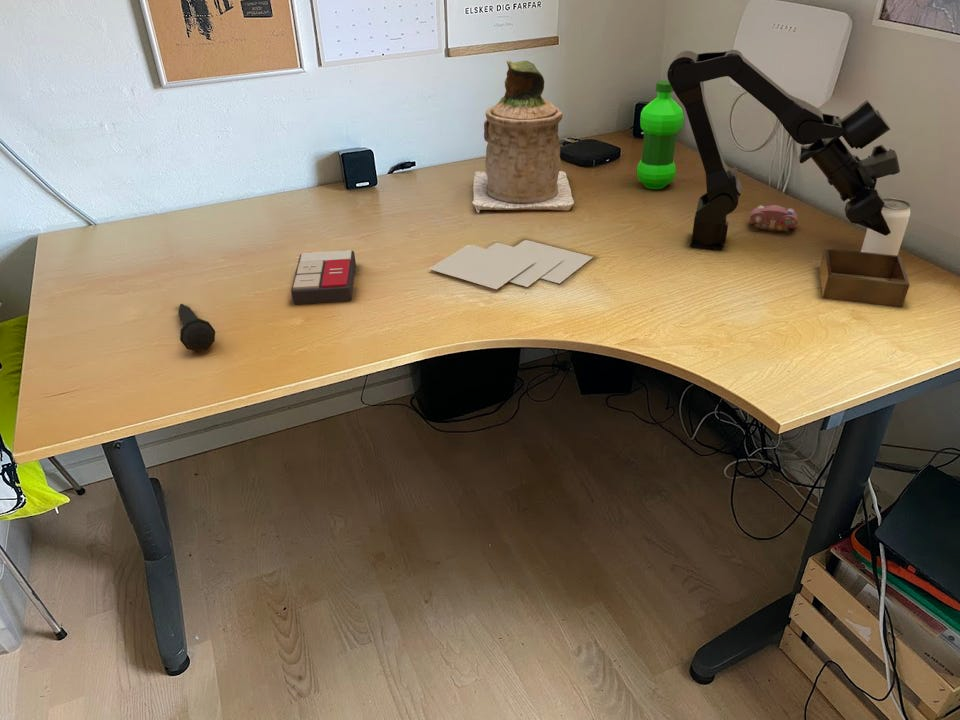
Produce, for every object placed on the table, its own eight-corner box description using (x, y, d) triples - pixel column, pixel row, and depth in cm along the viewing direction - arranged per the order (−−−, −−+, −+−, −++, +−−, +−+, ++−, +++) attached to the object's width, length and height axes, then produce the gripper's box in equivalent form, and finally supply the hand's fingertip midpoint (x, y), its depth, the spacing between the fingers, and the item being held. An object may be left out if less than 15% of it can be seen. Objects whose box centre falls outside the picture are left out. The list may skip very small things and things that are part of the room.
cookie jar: (575, 211, 170) (582, 68, 152) (471, 214, 170) (466, 72, 153) (566, 176, 190) (571, 46, 173) (473, 178, 191) (469, 49, 173)
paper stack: (493, 231, 161) (493, 228, 161) (593, 257, 149) (593, 254, 148) (428, 271, 146) (428, 268, 145) (533, 303, 133) (533, 300, 133)
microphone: (177, 324, 137) (196, 362, 121) (159, 300, 134) (175, 336, 118) (203, 309, 138) (224, 344, 123) (185, 285, 135) (205, 318, 119)
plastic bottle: (625, 186, 183) (634, 83, 169) (650, 175, 189) (660, 75, 175) (658, 195, 177) (670, 90, 163) (683, 184, 182) (696, 81, 169)
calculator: (289, 287, 134) (299, 250, 146) (293, 307, 136) (303, 268, 149) (348, 284, 134) (353, 246, 146) (351, 303, 137) (356, 265, 149)
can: (902, 265, 142) (921, 207, 135) (873, 269, 141) (891, 211, 134) (880, 251, 147) (896, 195, 141) (852, 255, 146) (867, 199, 139)
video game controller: (746, 233, 160) (750, 212, 154) (749, 218, 162) (753, 196, 156) (793, 239, 157) (799, 217, 151) (796, 223, 159) (802, 201, 153)
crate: (822, 297, 132) (828, 275, 130) (819, 268, 142) (824, 248, 139) (902, 307, 128) (909, 284, 126) (893, 277, 138) (900, 255, 135)
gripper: (885, 151, 125) (936, 218, 128) (873, 122, 139) (919, 182, 142) (825, 191, 131) (875, 253, 134) (820, 159, 146) (865, 216, 149)
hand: (885, 224), depth 140 cm, fingers open, 9 cm apart
